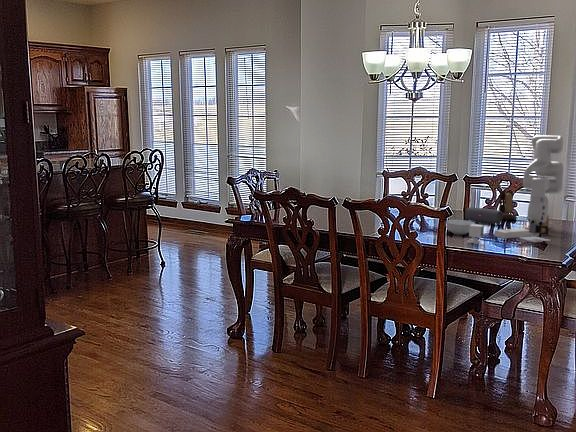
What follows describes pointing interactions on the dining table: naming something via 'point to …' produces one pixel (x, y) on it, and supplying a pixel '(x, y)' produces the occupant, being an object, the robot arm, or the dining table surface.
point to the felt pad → (534, 239)
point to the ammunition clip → (544, 228)
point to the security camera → (475, 233)
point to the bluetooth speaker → (484, 215)
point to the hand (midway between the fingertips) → (535, 231)
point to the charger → (533, 229)
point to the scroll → (507, 205)
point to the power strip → (513, 233)
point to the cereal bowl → (459, 226)
